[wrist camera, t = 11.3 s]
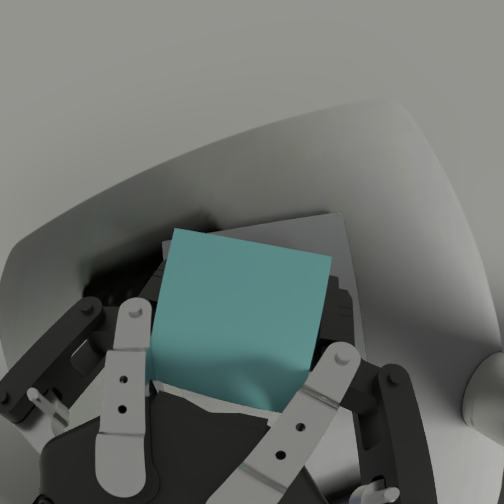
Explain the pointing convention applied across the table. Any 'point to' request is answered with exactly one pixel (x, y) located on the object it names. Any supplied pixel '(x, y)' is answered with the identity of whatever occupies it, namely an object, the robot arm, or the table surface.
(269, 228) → the baseplate
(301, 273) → the tall brick
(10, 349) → the table surface
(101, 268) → the table surface
